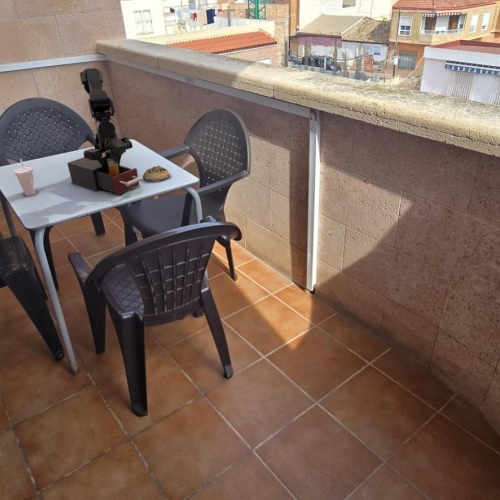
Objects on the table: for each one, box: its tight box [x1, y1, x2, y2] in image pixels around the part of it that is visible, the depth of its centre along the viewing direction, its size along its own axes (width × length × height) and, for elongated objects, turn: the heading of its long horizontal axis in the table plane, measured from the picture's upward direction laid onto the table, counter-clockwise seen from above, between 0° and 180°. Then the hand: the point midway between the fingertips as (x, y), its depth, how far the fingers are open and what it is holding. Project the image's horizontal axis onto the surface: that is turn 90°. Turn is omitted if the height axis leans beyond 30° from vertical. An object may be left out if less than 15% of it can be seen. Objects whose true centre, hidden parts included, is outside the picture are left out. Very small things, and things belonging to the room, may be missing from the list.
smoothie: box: [13, 158, 36, 197], centre depth 162 cm, size 6×6×14 cm
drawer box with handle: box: [67, 156, 114, 192], centre depth 173 cm, size 16×13×9 cm
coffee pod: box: [107, 161, 119, 175], centre depth 165 cm, size 5×5×4 cm
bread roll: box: [142, 165, 170, 182], centre depth 178 cm, size 11×11×5 cm
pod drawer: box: [94, 165, 143, 195], centre depth 166 cm, size 19×11×7 cm, turn 55°
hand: (112, 170), depth 166 cm, fingers closed on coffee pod, 4 cm apart
